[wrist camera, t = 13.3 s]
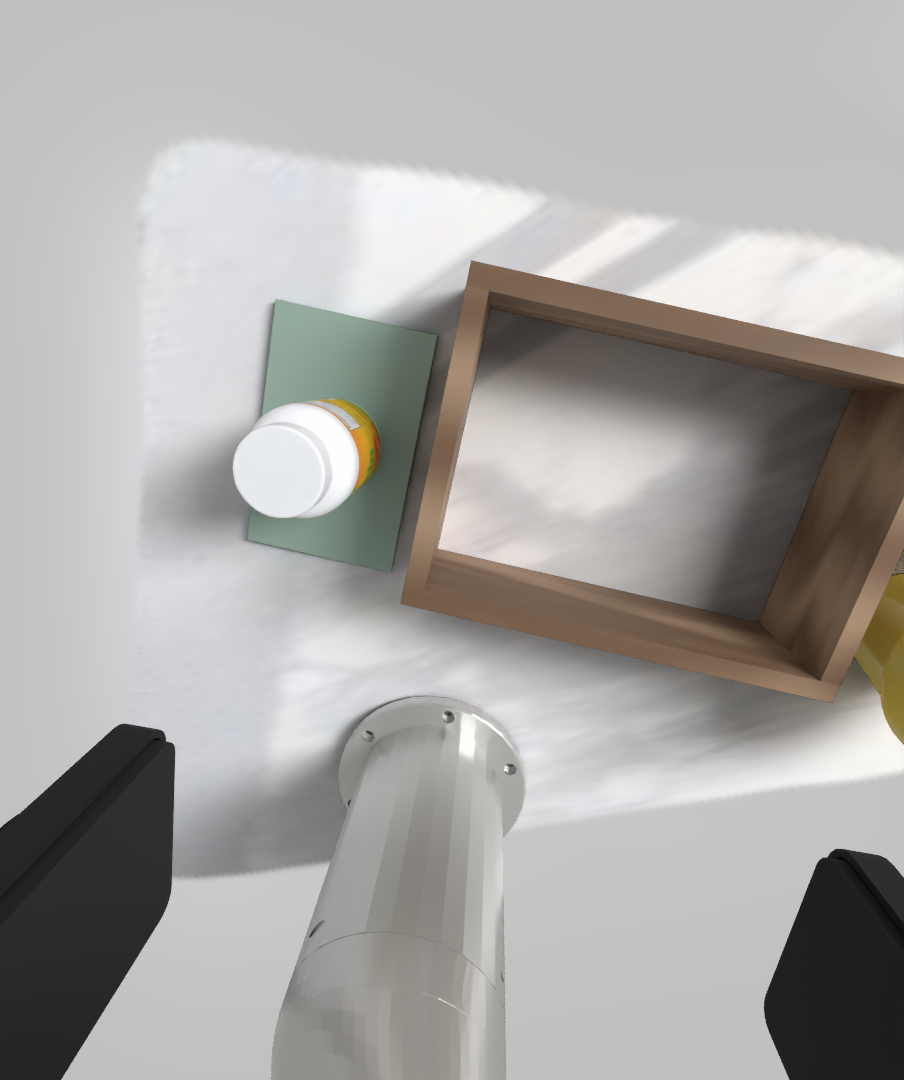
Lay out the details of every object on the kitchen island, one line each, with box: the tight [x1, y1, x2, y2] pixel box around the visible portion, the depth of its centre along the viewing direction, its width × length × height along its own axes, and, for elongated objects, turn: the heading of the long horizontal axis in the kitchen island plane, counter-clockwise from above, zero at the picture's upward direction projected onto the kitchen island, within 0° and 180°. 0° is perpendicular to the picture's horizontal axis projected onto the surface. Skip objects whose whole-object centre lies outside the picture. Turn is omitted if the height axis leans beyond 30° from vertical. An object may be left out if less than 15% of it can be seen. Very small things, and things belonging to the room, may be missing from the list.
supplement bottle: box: [232, 398, 382, 518], centre depth 29 cm, size 5×5×10 cm
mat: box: [247, 299, 438, 572], centre depth 34 cm, size 14×9×1 cm, turn 168°
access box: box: [400, 261, 904, 703], centre depth 30 cm, size 16×22×7 cm
